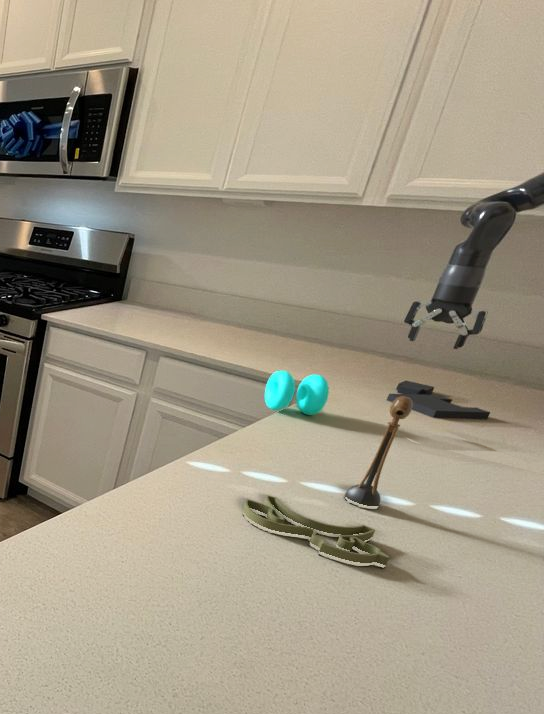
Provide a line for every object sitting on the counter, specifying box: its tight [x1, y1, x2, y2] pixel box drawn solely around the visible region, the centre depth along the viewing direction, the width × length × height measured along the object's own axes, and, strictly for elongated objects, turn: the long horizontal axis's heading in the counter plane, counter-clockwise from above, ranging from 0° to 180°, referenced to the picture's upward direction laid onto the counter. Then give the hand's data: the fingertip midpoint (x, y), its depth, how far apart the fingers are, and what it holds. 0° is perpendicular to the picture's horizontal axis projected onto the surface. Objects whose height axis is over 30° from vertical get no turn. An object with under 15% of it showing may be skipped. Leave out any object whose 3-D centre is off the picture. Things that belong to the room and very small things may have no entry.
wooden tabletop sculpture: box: [344, 396, 413, 507], centre depth 98 cm, size 6×5×20 cm
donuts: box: [264, 369, 330, 416], centre depth 144 cm, size 10×10×10 cm
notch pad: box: [386, 393, 491, 420], centre depth 147 cm, size 14×12×4 cm
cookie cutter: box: [243, 494, 390, 566], centre depth 91 cm, size 18×12×2 cm, turn 46°
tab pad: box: [395, 380, 435, 395], centre depth 160 cm, size 9×6×4 cm, turn 122°
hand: (433, 344), depth 154 cm, fingers open, 8 cm apart
